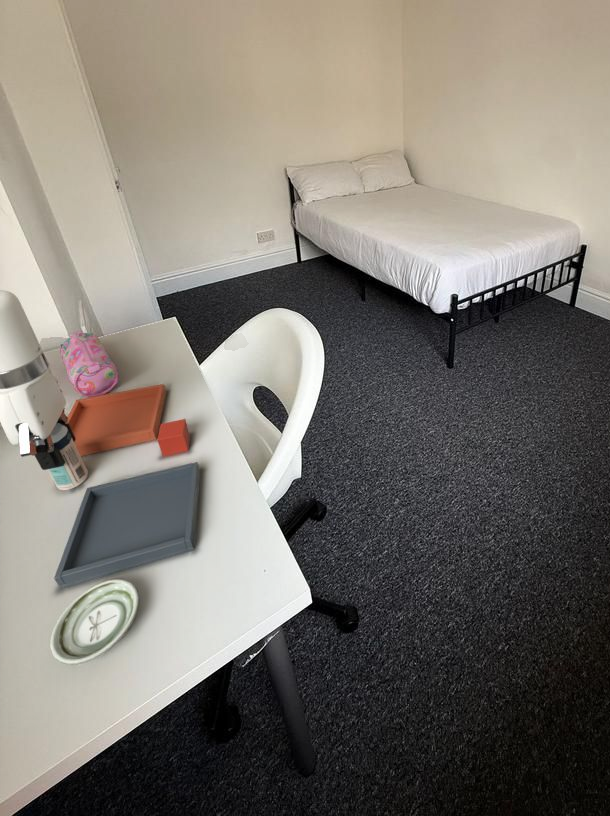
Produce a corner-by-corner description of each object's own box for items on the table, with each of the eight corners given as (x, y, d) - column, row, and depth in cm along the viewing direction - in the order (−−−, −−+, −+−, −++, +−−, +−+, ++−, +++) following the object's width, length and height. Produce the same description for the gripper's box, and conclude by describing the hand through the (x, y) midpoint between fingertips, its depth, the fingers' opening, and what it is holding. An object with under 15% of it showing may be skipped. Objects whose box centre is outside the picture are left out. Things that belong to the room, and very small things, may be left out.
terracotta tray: (54, 461, 79) (49, 451, 78) (80, 408, 92) (76, 399, 91) (156, 439, 84) (152, 430, 83) (166, 392, 97) (163, 383, 96)
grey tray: (60, 589, 59) (53, 578, 58) (91, 498, 72) (86, 487, 71) (194, 550, 64) (190, 539, 62) (200, 471, 77) (197, 461, 76)
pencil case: (65, 365, 107) (52, 335, 103) (106, 352, 112) (95, 323, 108) (79, 407, 93) (65, 374, 89) (125, 389, 98) (113, 358, 94)
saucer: (153, 627, 54) (148, 617, 53) (65, 694, 48) (58, 684, 47) (130, 573, 61) (125, 563, 60) (50, 627, 55) (43, 617, 54)
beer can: (87, 465, 78) (63, 417, 73) (91, 481, 75) (67, 432, 69) (56, 479, 75) (29, 430, 70) (58, 497, 72) (31, 446, 67)
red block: (163, 457, 80) (157, 440, 78) (166, 440, 84) (160, 423, 82) (188, 451, 81) (183, 434, 79) (190, 435, 85) (185, 418, 83)
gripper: (12, 345, 70) (52, 426, 78) (-45, 410, 56) (12, 501, 64) (63, 337, 72) (98, 417, 80) (22, 398, 58) (69, 488, 66)
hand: (59, 453), depth 72 cm, fingers closed on beer can, 4 cm apart
